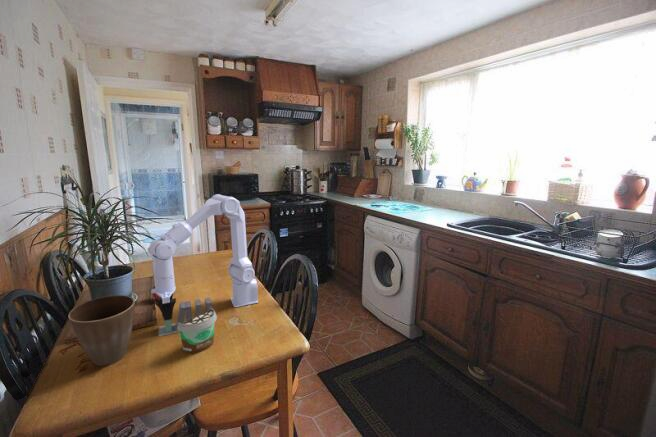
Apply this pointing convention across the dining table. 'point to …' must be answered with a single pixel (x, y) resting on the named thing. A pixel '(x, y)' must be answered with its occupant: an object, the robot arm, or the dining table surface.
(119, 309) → the plant pot
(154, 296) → the onion
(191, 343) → the food container
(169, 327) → the domino
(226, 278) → the dining table surface
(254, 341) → the dining table surface
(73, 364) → the dining table surface
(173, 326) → the coaster
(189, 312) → the domino
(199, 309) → the domino
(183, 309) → the domino
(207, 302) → the domino
